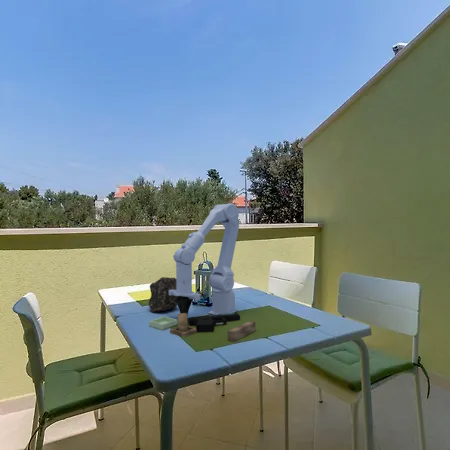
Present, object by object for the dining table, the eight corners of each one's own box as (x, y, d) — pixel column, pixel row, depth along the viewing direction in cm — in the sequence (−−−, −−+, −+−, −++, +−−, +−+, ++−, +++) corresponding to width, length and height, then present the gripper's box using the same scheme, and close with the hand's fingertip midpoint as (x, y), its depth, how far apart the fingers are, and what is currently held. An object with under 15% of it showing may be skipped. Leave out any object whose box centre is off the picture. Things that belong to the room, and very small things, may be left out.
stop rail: (250, 329, 107) (250, 320, 107) (255, 330, 106) (255, 321, 106) (227, 340, 97) (227, 331, 97) (232, 342, 96) (232, 332, 96)
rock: (165, 307, 141) (190, 306, 133) (143, 315, 131) (169, 314, 122) (161, 276, 143) (185, 272, 134) (138, 280, 132) (163, 277, 124)
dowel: (182, 330, 106) (181, 312, 106) (189, 331, 105) (188, 313, 105) (176, 333, 104) (175, 315, 104) (184, 334, 102) (183, 316, 102)
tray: (164, 321, 116) (164, 316, 116) (177, 325, 112) (177, 319, 112) (149, 326, 110) (149, 321, 110) (162, 330, 106) (162, 324, 106)
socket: (184, 328, 109) (184, 324, 109) (198, 331, 105) (198, 328, 105) (169, 333, 104) (169, 329, 104) (184, 337, 100) (184, 333, 100)
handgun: (250, 328, 110) (236, 319, 121) (250, 319, 110) (236, 310, 121) (197, 334, 102) (187, 324, 113) (197, 325, 102) (187, 315, 114)
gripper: (162, 279, 119) (162, 315, 119) (190, 284, 110) (191, 323, 110) (176, 277, 124) (176, 311, 124) (204, 281, 116) (204, 318, 116)
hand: (184, 316), depth 118 cm, fingers closed
